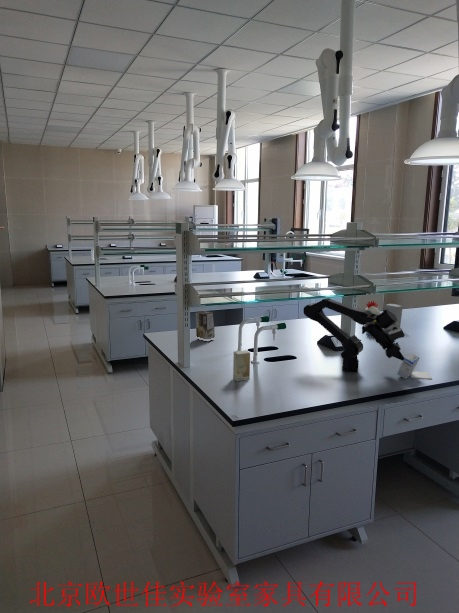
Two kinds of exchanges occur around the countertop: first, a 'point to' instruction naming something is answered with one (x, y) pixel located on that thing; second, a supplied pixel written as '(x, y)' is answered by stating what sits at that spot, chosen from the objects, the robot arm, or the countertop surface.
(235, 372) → the skincare box
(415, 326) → the countertop surface
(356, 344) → the robot arm
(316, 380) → the countertop surface
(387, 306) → the skincare box
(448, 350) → the countertop surface
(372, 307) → the kitchen timer
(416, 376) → the mat
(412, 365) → the medicine box
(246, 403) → the countertop surface
